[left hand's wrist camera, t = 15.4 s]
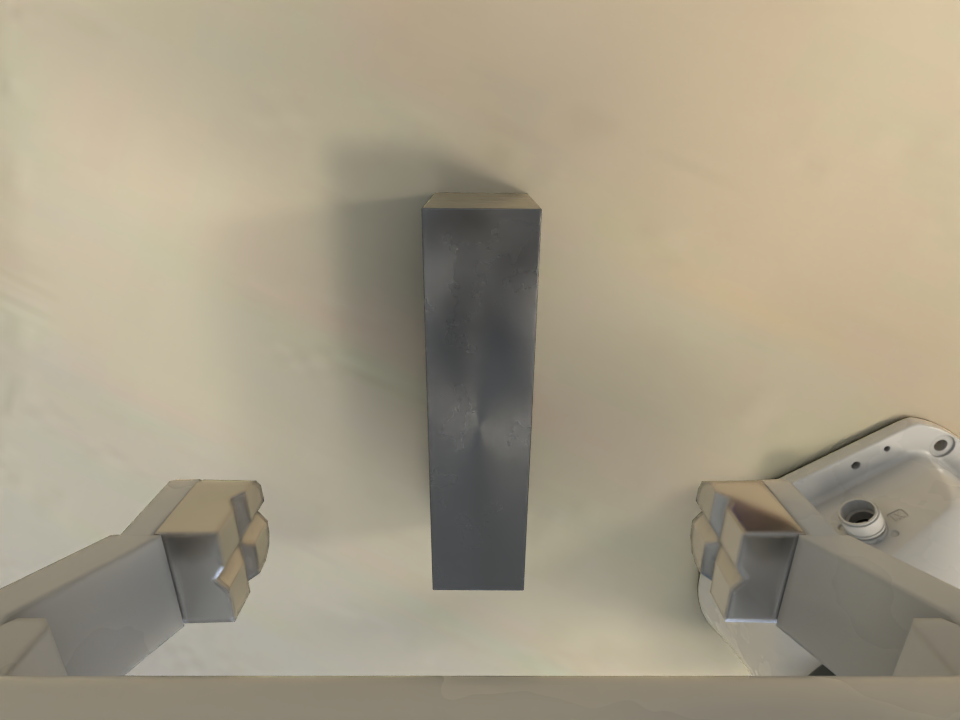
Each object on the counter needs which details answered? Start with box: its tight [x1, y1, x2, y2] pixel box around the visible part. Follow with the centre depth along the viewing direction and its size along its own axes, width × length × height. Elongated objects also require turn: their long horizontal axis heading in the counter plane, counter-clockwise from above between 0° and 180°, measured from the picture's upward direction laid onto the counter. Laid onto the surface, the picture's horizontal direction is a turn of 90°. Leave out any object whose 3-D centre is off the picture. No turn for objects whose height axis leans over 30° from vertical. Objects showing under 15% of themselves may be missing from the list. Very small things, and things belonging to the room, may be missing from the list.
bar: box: [422, 193, 542, 590], centre depth 33 cm, size 22×6×8 cm, turn 0°
